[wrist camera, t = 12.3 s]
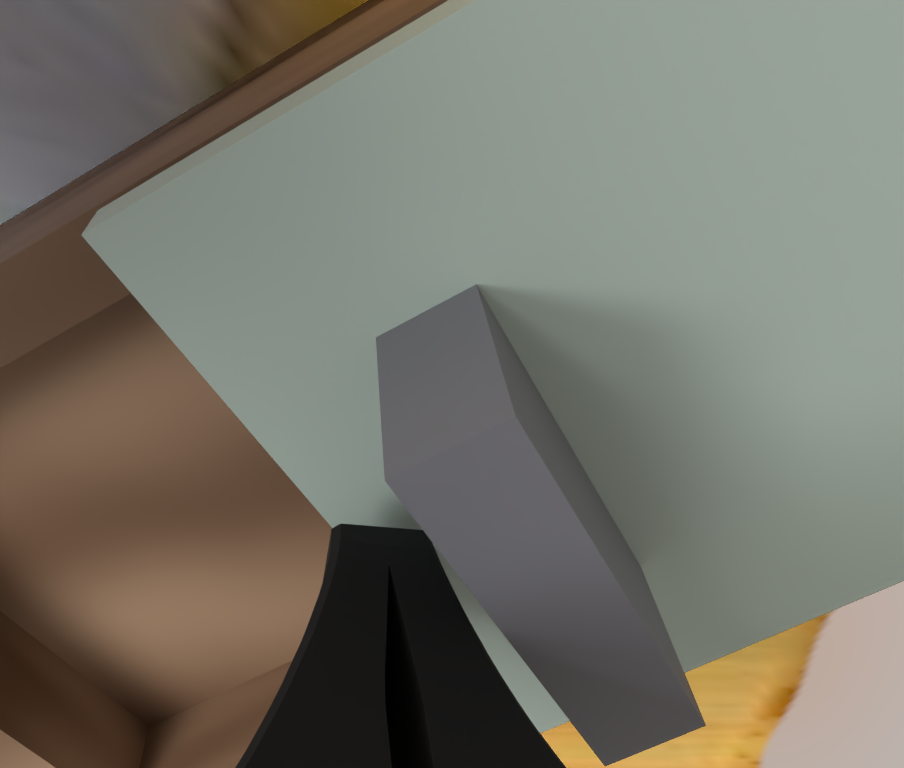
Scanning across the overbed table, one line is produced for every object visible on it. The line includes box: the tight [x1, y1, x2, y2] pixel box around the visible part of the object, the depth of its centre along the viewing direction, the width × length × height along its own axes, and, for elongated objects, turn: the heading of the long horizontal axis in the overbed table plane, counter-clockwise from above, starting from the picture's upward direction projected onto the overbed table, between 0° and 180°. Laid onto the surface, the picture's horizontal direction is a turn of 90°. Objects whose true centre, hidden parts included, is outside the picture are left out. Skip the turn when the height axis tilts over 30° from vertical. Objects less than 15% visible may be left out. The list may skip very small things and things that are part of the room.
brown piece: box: [0, 0, 448, 768], centre depth 16 cm, size 12×16×3 cm
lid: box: [82, 0, 904, 766], centre depth 11 cm, size 12×16×4 cm
